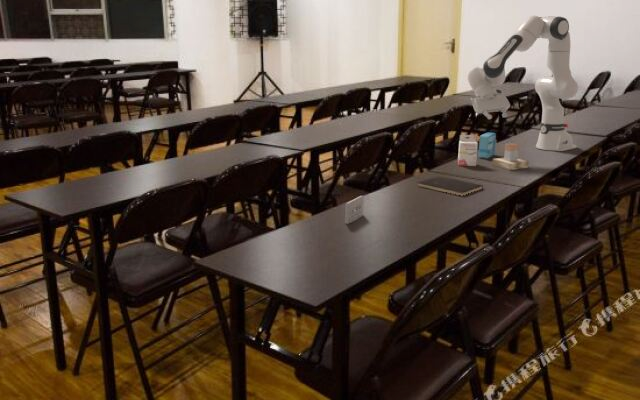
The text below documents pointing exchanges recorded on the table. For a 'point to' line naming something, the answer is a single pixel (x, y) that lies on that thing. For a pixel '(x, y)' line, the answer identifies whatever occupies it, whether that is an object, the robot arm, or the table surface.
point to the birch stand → (510, 164)
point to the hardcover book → (450, 185)
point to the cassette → (353, 213)
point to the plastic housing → (511, 152)
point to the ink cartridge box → (467, 151)
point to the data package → (487, 145)
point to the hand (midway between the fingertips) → (497, 117)
